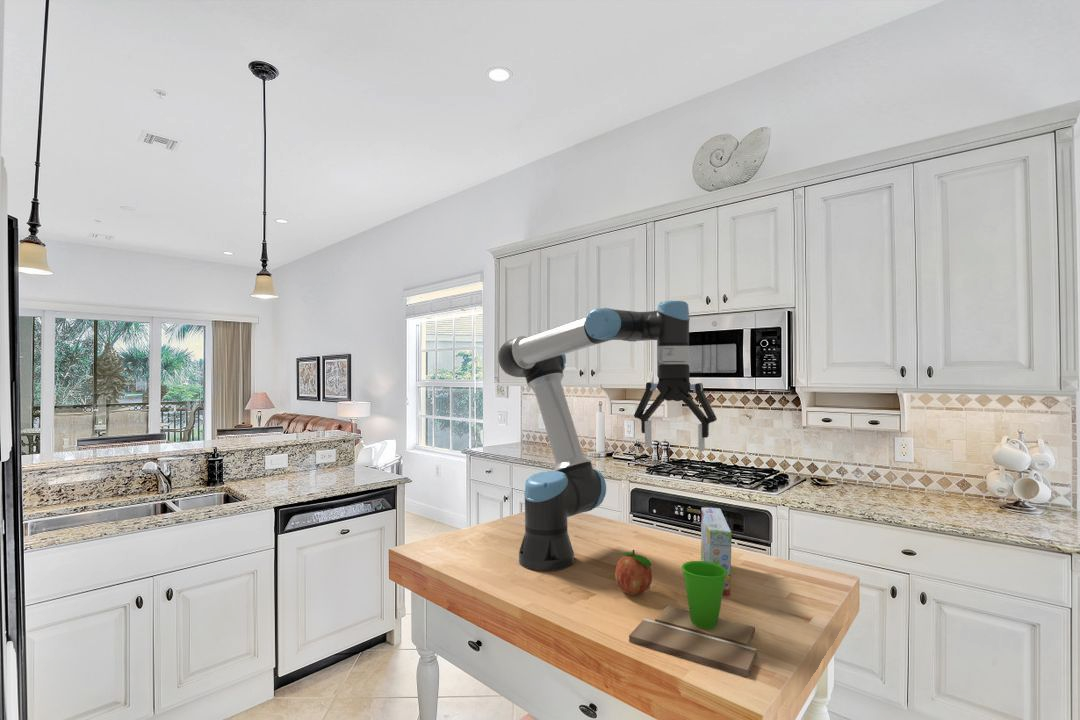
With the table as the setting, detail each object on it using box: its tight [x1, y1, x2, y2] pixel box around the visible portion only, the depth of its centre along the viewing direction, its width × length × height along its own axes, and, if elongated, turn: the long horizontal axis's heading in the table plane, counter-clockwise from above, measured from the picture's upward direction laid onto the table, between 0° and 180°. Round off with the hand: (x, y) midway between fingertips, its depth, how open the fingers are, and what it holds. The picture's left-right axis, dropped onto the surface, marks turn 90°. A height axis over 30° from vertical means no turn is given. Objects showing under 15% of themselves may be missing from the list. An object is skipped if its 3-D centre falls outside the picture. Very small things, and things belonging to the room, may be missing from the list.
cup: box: [680, 560, 728, 629], centre depth 109 cm, size 9×9×11 cm
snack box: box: [700, 507, 733, 597], centre depth 135 cm, size 21×6×15 cm, turn 168°
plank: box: [654, 604, 756, 647], centre depth 109 cm, size 18×8×1 cm, turn 57°
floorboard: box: [628, 618, 758, 678], centre depth 102 cm, size 22×8×1 cm, turn 57°
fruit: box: [614, 549, 653, 596], centre depth 126 cm, size 9×10×10 cm
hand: (674, 448), depth 133 cm, fingers open, 13 cm apart
